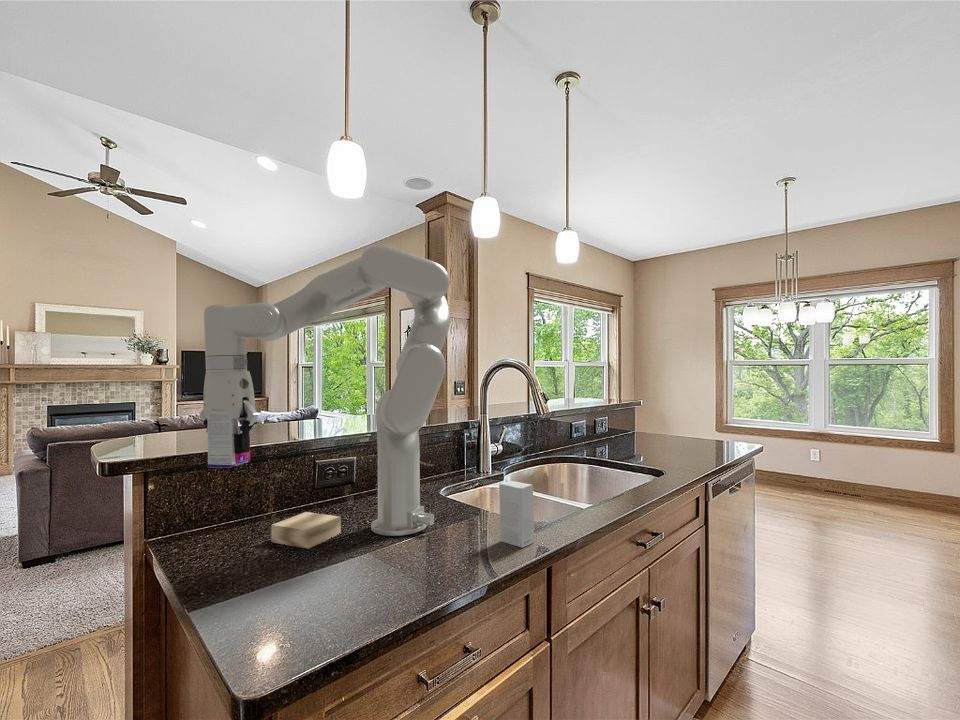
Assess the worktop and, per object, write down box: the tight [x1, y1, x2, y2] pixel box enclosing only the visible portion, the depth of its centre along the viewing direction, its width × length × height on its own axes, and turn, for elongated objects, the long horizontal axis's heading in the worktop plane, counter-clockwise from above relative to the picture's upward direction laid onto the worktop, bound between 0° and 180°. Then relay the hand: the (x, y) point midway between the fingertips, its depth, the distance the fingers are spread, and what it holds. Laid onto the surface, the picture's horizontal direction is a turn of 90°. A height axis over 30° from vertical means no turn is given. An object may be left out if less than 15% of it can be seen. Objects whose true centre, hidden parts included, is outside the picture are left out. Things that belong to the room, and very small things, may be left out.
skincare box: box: [498, 480, 535, 549], centre depth 101 cm, size 6×4×12 cm
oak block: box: [270, 511, 342, 550], centre depth 106 cm, size 10×10×4 cm
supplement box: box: [207, 410, 251, 469], centre depth 101 cm, size 6×6×12 cm
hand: (229, 451), depth 100 cm, fingers closed on supplement box, 6 cm apart
